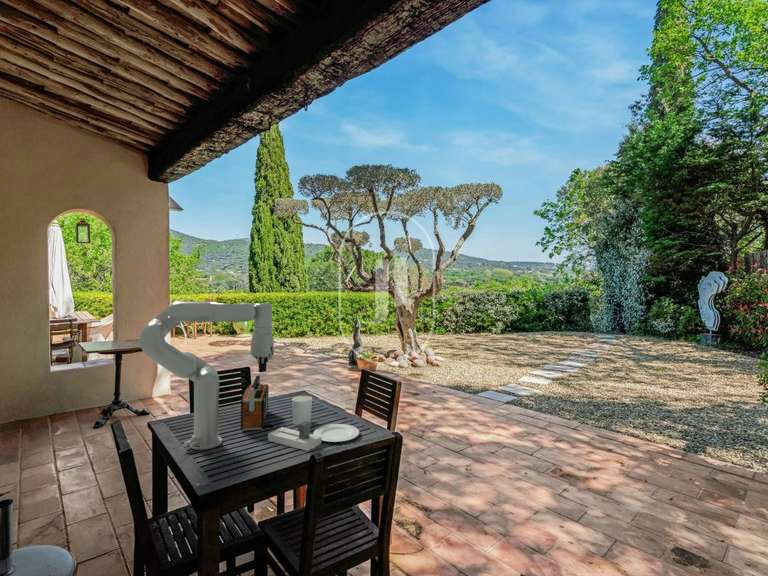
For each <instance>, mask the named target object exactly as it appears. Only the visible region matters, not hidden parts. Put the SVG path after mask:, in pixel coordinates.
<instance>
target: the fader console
mask: <svg viewBox="0 0 768 576" xmlns="http://www.w3.org/2000/svg"><path fill="white" fill-rule="evenodd" d="M267 441H268V442H272V443H275V444H279V445H283V446H287V447H290V448H295V449H299V450H302V451H306V452H310V451H311V449H312V450H313V449H315V448H316V446H317V447H318V446H320V445H321V444H322V442H323V441H322V437H321V436H317V435H314V434H312V433H310V436H309V437H307V438H305V439H300V438H299V430H295V429H291V428H289V427H282V426H281V427H279V428H277V429H275V430H273V431H271V432H269V433H267ZM309 450H310V451H309Z"/></svg>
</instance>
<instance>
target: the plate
mask: <svg viewBox="0 0 768 576" xmlns="http://www.w3.org/2000/svg"><path fill="white" fill-rule="evenodd" d="M313 435H317V436H321V437H322V442H325V443H331V442H334V443H333V444H337V442H339V443H345V442H350V441H351V440H354V439H356V438H357V437H359V435H360V430H359V429H358V428H357V427H355V426H353V425H350V424H346V423H345V424H344V423H333V424H332V423H331V424H326V425H322V426H320V427H317V428H316V429H315V430H314V431H313Z"/></svg>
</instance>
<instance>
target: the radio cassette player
mask: <svg viewBox="0 0 768 576" xmlns="http://www.w3.org/2000/svg"><path fill="white" fill-rule="evenodd" d="M244 392H245V393H244V394H243V396H242V398H241V400H240V431H256V430H257V431H258V430H263V429H264V427H265V420H266V417H267V414H268V411H269V384H267V383H262V384H261V375H260V374H257V375H256V376H255V378H254V381H253V383H252V384H249V385H248V386H247V387H246V390H245V391H244Z"/></svg>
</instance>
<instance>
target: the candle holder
mask: <svg viewBox="0 0 768 576" xmlns="http://www.w3.org/2000/svg"><path fill="white" fill-rule="evenodd" d="M291 402H292V403H291V405H292V407H291V408H292V423H293V425H295V426H298V424H300V423H302V422H304V421H309V422H311V420H312V407H313V406H312V404H313V397H312V396H309V395H297V396H294V397H292V398H291Z"/></svg>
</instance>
